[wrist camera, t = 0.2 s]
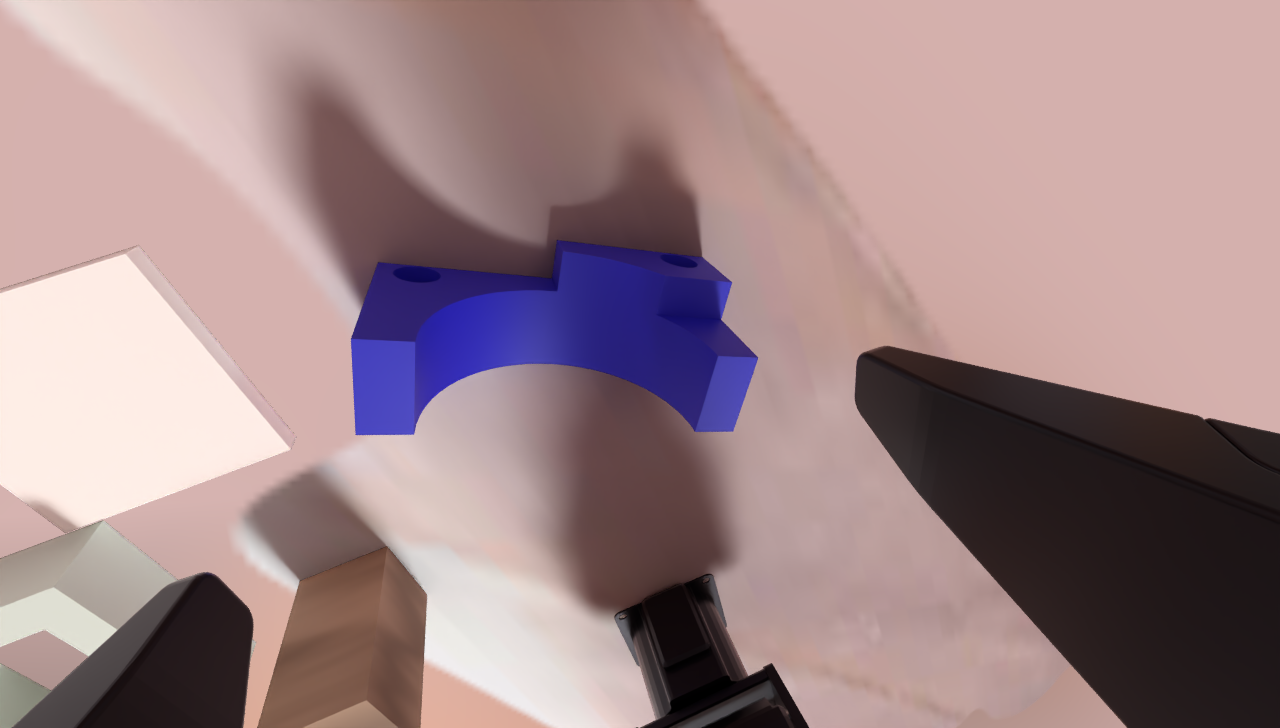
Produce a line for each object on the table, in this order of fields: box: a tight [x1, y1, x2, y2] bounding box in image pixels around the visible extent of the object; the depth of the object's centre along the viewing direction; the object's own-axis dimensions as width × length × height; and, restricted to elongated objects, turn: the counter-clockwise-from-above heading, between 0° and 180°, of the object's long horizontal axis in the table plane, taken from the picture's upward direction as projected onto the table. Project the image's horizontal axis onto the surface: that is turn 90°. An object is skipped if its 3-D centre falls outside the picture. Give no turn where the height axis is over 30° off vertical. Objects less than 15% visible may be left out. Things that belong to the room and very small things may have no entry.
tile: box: [0, 245, 296, 533], centre depth 17 cm, size 8×8×1 cm
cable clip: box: [351, 240, 758, 435], centre depth 18 cm, size 12×4×6 cm, turn 78°
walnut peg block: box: [257, 547, 427, 728], centre depth 22 cm, size 4×4×7 cm
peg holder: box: [0, 520, 256, 728], centre depth 21 cm, size 9×9×3 cm
